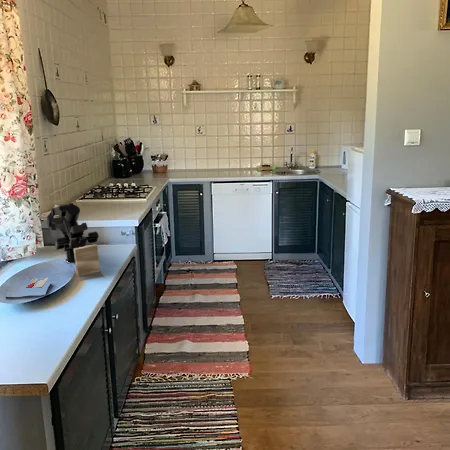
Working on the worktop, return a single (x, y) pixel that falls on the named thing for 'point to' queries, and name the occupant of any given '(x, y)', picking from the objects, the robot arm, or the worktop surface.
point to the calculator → (39, 283)
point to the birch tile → (86, 260)
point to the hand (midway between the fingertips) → (82, 256)
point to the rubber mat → (90, 276)
